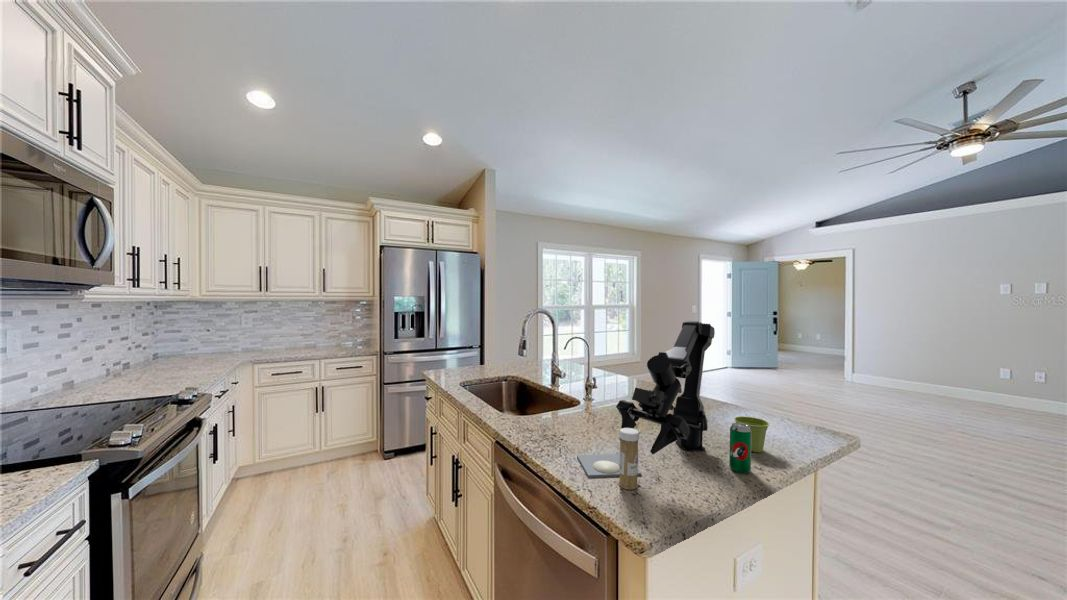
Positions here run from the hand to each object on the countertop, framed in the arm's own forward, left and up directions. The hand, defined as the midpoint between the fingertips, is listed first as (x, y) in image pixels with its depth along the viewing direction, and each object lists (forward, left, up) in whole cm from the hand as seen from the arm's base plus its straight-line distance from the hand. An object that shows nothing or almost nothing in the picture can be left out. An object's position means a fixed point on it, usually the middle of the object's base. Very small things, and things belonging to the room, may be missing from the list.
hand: (635, 446), depth 90 cm
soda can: (-32, -5, -9) cm, 33 cm away
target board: (+3, -10, -9) cm, 14 cm away
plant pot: (-45, -18, -9) cm, 49 cm away
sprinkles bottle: (+2, +1, -9) cm, 10 cm away
